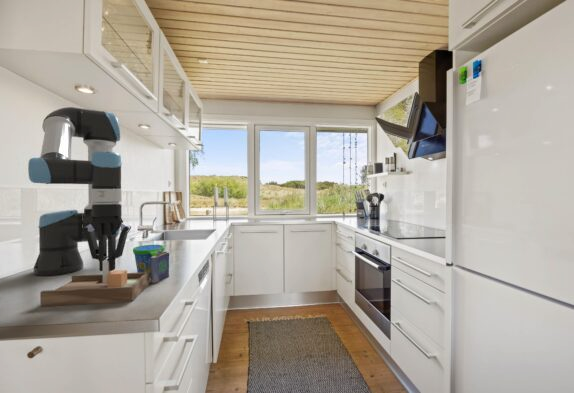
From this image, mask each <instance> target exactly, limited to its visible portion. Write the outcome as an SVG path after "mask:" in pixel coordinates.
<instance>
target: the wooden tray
mask: <svg viewBox="0 0 574 393" xmlns="http://www.w3.org/2000/svg"><path fill="white" fill-rule="evenodd" d="M149 285H151V276H150V272H143V273H138V272H130V273H129V272H127V283H126V284H125V285H124V286H123V287H107V283H103V273H100V274H96V273H95V274H74V275H72V276H71V281H69V282H67V283H65V284H63V285H61V286H59V287H58V288H56V289H50V290H48V289H46V290H41V291H40V294H39V295H40V307H41V308H43V307H56V306H59V307H61V306H74V305H92V304H93V305H95V304H97V305H98V304H111V303H112V304H113V303H114V304H115V303H129V302H130V303H131V302H134V300H135V299H137V298H138V296H140V294H141V293H143V292H144V291H145V290H146V288H148V287H149Z"/></svg>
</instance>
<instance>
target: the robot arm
mask: <svg viewBox="0 0 574 393" xmlns="http://www.w3.org/2000/svg"><path fill="white" fill-rule="evenodd" d="M120 128H121V127H120V124H119V119H118V117H117V115H116V114H114V113H112V112H107V111H104V110H94V109H86V108H80V107H73V106H72V107H61V108H58V109H55V110H53V111H52V112H50V113H49V114H47V115H46V117H45V118H44V119H43V122H42V131H43V133H44V136H43V141H42V146H41V153H40V157H32V158H31V157H30V159H29V160H28V166H27V167H28V168H27V170H28V171H27V172H28V179H29V181H30V182H31V183H34V184H46V185H49V184H51V185H52V184H53V185H60V184H61V185H63V184H64V185H71V184H72V185H88V187H87V188H88V192H87V193H88V194H87V195H88V204H87V205H86V206H85V207H84V208H83V212H78V209H68V210H60V211H53V212H46V213H44V214H42V215H40V216H39V222H38V232H39V235H38V236H39V238H38V239H39V240H38V241H39V243H38V244H39V246H38V248H39V249H38V250H39V253H38V256H37V257H36V261H35V263H34V266H33V269H32V270H33V275H34V276H38V277H39V276H40V277H49V276H59V275H64V274H70V273H73V272H77V271H80V270H82V269H84V260H83V258H82V256H81V252H80V251H79V243H82V242H83V243H84V242H87V246H88V248H89V252H90V256H91V258H92V259H93V260H97V261H98V264H99V265H98V266H99V269H98V270H99V272H102V274H103V283H107V274H108V273H110V272H112V271H116V259H119V258H120V257H122V256H123V254H124V249H125V245H126V242H127V237H128V233H130V230H131V229H132V226H131V225H128V224H126V223H124V221H123V219H122V204H121V202H122V164H123V162H122V156H121V154H120V153H119V152H114V151H113V148H114V147H116V146H117V142H120V141H121V129H120ZM73 137H74V138H81V139H83V144H85V146H87V160H82V159H81V160H80V159H72V138H73ZM120 231H121V232H120ZM117 237H118V241H116V240H117Z"/></svg>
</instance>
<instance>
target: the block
mask: <svg viewBox="0 0 574 393" xmlns="http://www.w3.org/2000/svg"><path fill="white" fill-rule="evenodd" d="M127 273H128V270H127V269H124V270H121V269H120V270H119V269H118V270H116V269H115V270H113V271H112V272H110V273H108V274H107V287H123V286H124V285H125V284H126V283H127Z"/></svg>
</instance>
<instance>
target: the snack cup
mask: <svg viewBox="0 0 574 393" xmlns="http://www.w3.org/2000/svg"><path fill="white" fill-rule="evenodd" d="M158 249H159V250H162V251H161V252H165V246H164V245H163V244H145V245H138V246H135V247H133V249H132V252H133V255H134V259H135V265H136V271H137V272H136V273H143V272H150V277H151V257H152V256H155V255H157V252H158Z"/></svg>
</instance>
